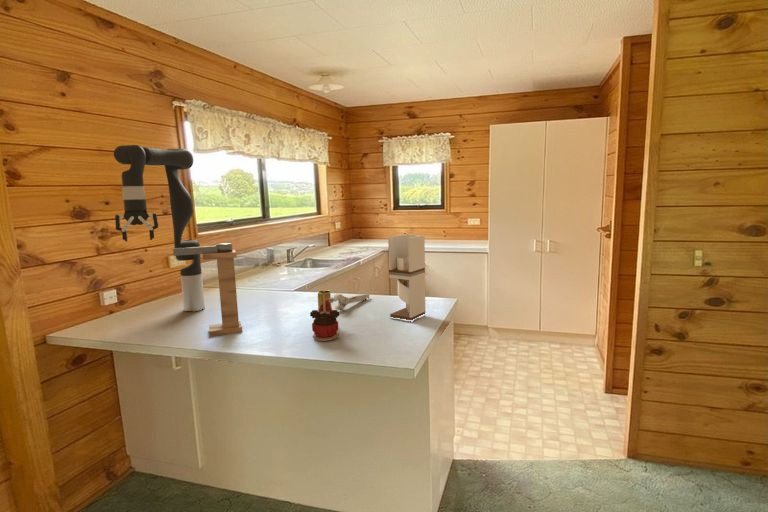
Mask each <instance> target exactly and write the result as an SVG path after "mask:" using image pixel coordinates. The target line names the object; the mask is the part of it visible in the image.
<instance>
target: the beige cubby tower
mask: <svg viewBox="0 0 768 512" xmlns="http://www.w3.org/2000/svg"><path fill="white" fill-rule="evenodd" d="M387 239H388V240H387V243H388V274H389V275H388V278H389V279H396V281H397V296H398V298H399V299H400V301H402V302H403V303H405V307H404V308H401V309H398V310H397V311H395V312H392V313H390V314H389V316H390V317H393V318H400V319H406V320H413V319H415V318H417V317H419V316H421V315H423V314H425V313H426V259H425V258H426V256H425V255H426V253H425V251H426V249H425V248H426V247H425V246H426V245H425V242H426V241H425V234H424V235H423V234H405V233H404V234H397V235H393V236H388V238H387ZM390 317H389V318H390Z"/></svg>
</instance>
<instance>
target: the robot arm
mask: <svg viewBox="0 0 768 512" xmlns="http://www.w3.org/2000/svg"><path fill="white" fill-rule="evenodd" d="M113 158H114V160H115V161H116V162H118V163H119V164H121V165H130V167H129V168H128V170H125V171H122V173H121V184H122V200H123V210H124V212H123V213H124V214H115V216H114V217H115V230H116V231H119V232H121V236H122V240H123V241H124V242H128V241H129V240H128V232H127V229H128V228H129V227H130V226H136V225H139V226H143V225H144V226H146V228H147V229H148V230H149V240H150V241H153V239H154V238H155V232H154V230H157V229H158V228H159V223H158V222H159V221H158V216H157V213H156V212H154V213H153V212H152V213H148V209H147V207H148V206H147V200H146V197H147V196H146V190H145V186H144V171H145V166H164V170H165V173H166V179H167V185H168V192H169V203H170V205H169V206H170V212H171V218H172V219H171V220H172V226H173V227H172V228H173V244H174V246H173V248H186V247H201V245H200V242H199V241H198V240H193V239H192V240H182V236H183V234H184V231H185V229H186V227H187V226H188V223H189V222H190V220H191V218H192V217H193V214H194V208H193V207H194V206H193V199H192V196H191V194H190V192H189V191H188V190H187V189H186V187H185V186H184V184H183V182H182V181H181V178H180V174H179V170H189V169H191V168H192V166H193V164H194V156H193V154H192V152H191V151H190V150H189V149H186V148H167V149H162V148H154V147H147V146H141V145H138V144H127V145H125V144H124V145H123V144H122V145H118V146H117V147H115V149H114V151H113ZM149 217H150V219H151V220H153V224H154V225H153V226H152V225H151V223H149V222H148V221H147V220H148V219H149ZM123 218H124V219H125V221H126V223H125V224H124V226H123V227H121V221H122V220H123ZM175 259H176V260H177V261H179V262H181V261H183V262H185V261H192V263H191V264H189V265H187V266H185V267H182V268H180V270H179V272H180V273H179V274H180V282H181V283H180V284H181V292H182V301H183V303H182V304H183V311H184V312H186V311H193V312H198V311H202V309H203V310H205V309H206V307H205V306H206V305H205V294H204V285H203V283H204V282H203V272H202V263H201V261H202V260H201V254H192V255H178V256H175Z"/></svg>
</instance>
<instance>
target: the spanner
mask: <svg viewBox="0 0 768 512" xmlns="http://www.w3.org/2000/svg"><path fill="white" fill-rule="evenodd" d="M233 250H234V248H233V243H230V242H229V243H228V242H224V243H216V244H215V245H204V246H203V245H202V246H201V245H200V247H186V248H174V247H173V249H172V254H173V256H174V257H176V256H178V255H192V254H200V255H203V254H206V253H226V252H232V251H233Z"/></svg>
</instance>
